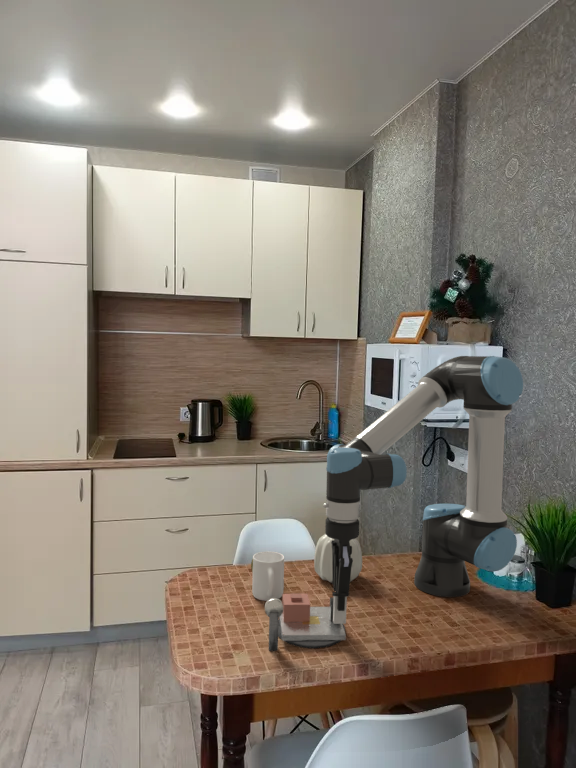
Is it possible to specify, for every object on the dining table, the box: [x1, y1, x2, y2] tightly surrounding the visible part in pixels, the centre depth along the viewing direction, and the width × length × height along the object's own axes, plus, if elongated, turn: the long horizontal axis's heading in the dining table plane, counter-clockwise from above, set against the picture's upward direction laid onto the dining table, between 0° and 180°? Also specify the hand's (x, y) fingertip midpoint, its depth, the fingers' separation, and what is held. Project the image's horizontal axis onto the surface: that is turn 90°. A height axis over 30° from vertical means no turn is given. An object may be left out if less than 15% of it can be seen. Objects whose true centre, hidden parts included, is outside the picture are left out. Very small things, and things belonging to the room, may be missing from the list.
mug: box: [251, 551, 285, 602], centre depth 149 cm, size 12×8×10 cm
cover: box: [281, 593, 311, 622], centre depth 133 cm, size 6×6×5 cm
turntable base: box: [278, 619, 346, 649], centre depth 132 cm, size 16×16×1 cm
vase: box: [313, 533, 363, 584], centre depth 163 cm, size 14×14×13 cm
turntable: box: [279, 596, 347, 642], centre depth 131 cm, size 14×14×6 cm
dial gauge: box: [264, 598, 283, 652], centre depth 123 cm, size 4×3×11 cm, turn 94°
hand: (339, 622), depth 127 cm, fingers closed
